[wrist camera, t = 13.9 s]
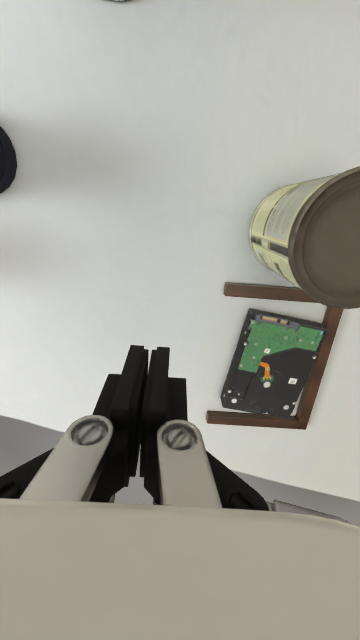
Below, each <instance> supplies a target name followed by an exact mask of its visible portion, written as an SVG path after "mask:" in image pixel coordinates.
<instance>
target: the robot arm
mask: <svg viewBox="0 0 360 640" xmlns="http://www.w3.org/2000/svg"><path fill="white" fill-rule="evenodd" d="M114 1H122V0H114ZM169 352H170V348H168V347H157V350H152V354H151V359H150V365H149V371H148V350H147V349H144V346H137V345H131V346H130V349H129V352H128V356H127V359H126V362H125V365H124V368H123V371H122V374H109V375H108V377H107V379H106V382H105V384H104V387H103V389H102V392H101V394H100V397H99V399H98V402H97V404H96V407H95V409H94V412H93V414H92V415H89V416H85V417H82V418H79V419H78V420H76V421H75V422H73V423H72V424H71V425H70V426H69V427H68V429H67V430H66V432H65V433H64V435H63V436H62V438H61V439H60V441H59V442H58V443H57V445H56V447H55V448H53V449H51V450H49V451H47V452H45V453H43V454H42V455H40V456H38V457H36V458H34V459H32V460H30V461H29V462H27V463H25V464H23V465H21V466H19V467H18V468H16V469H14V470H12V471H10V472H9V473H6V474H5V475H3V476H1V477H0V640H360V528H359V527H357V526H354V525H352V524H350V523H349V522H348V521H346V520H344V519H341V518H339V517H336V516H332V515H329V514H325V513H321V512H317V511H314V510H310V509H307V508H303V507H299V506H296V505H292V504H289V503H285V502H281V501H277V500H274V501H273V503H270V502H266V501H265V500H264V498H263V497H261V495H260V494H259V493H258V492H257V491H255V490H254V489H253V488H252V487H250V486H249V485H248V484H247V483H245V482H244V481H243V480H242V479H241V478H239V477H238V476H237V475H236V474H234V473H233V472H232V471H231V470H230V469H228V468H227V467H226V466H225V465H223V464H222V463H221V462H220V461H218V460H217V459H216V458H215V457H214V456H212V455H211V454H210V453H209V452H207V451H206V449H205V446H204V442H203V439H202V435H201V433H200V431H199V429H198V428H197V427H196V426H195V425H194V424H192V423H190V422H188V419H187V394H186V378H170V377H168V368H169ZM140 443H141V449H140ZM139 450H140V477H144V488H145V489H146V490H147V491H148V492H149V493H150V494H151V496H152V497H153V505H145V504H124V503H114V499H115V493H116V492H118V491H119V490H120V489H122V488H123V487H128V483H129V477H130V476H131V477H135V475H136V469H137V463H138V456H139Z"/></svg>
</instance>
